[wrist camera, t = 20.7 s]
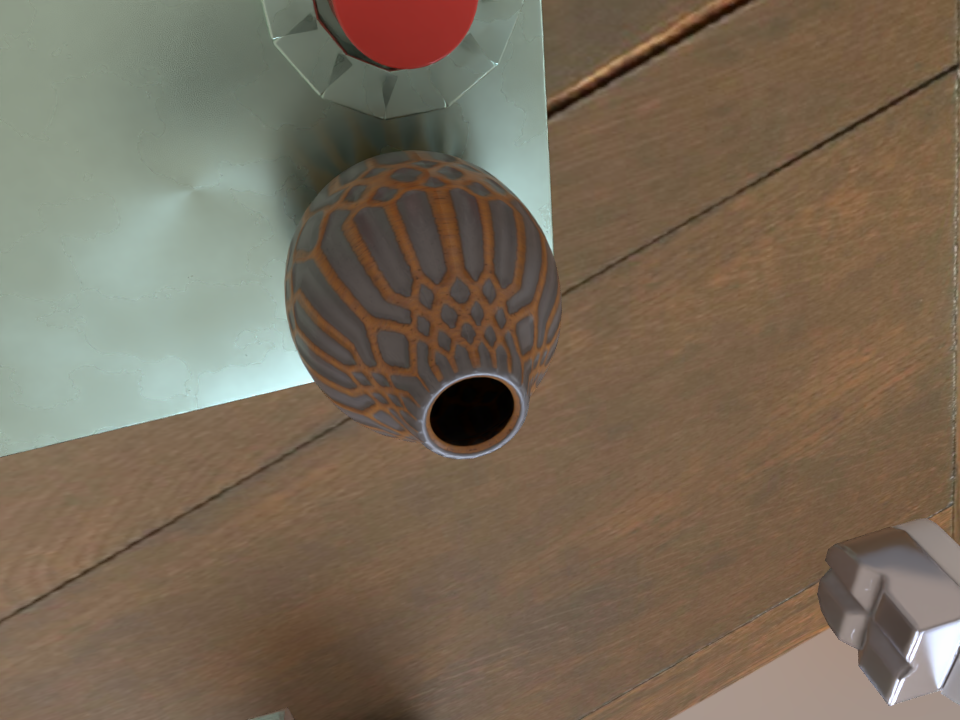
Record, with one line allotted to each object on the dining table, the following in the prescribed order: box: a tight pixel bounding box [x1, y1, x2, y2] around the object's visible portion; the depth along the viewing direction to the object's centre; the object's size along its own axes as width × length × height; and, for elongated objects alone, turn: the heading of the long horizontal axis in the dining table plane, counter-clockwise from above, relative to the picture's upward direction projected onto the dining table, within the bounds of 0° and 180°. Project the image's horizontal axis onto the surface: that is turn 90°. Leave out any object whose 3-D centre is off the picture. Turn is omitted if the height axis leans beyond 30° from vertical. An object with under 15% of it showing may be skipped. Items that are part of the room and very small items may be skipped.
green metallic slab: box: [0, 0, 554, 457], centre depth 20 cm, size 20×14×3 cm
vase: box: [284, 150, 562, 459], centre depth 19 cm, size 7×7×9 cm
